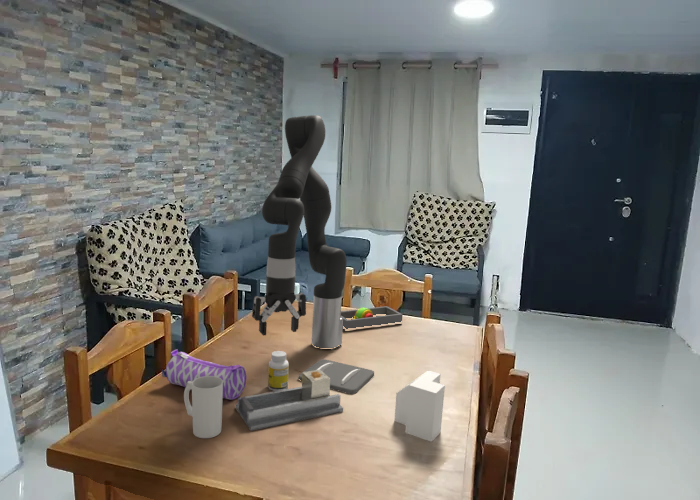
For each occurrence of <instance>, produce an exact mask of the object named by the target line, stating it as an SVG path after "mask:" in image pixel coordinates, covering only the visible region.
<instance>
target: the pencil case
mask: <svg viewBox="0 0 700 500" xmlns="http://www.w3.org/2000/svg"><path fill="white" fill-rule="evenodd" d="M170 355H171V356H172V357H171V359H169V361H168V363H167V364H166V367H165V369H162V370H161V376H162V378H166V379H167V381H168V382H169V383H170V384H171V385H172V384H173V385H177V386H180V387H184V388H186V386H187V382H188V381H191V382H192V381H193V380H195V379H196V378H199V377H203V376H215V377H219V378H221V379H222V380H223V399H226V400H230V401H231V400H235V399H238V398H239V397H240V396H241V394H242V393H243V392H244V391H245V390H244V389H246V384H247V371H246V369H245V367H244V366H243V365H240V364H236V365H235V364H234V365H222V364H219V363H215V362H211V361H206V360H203V359H200V358H197V357H194V356H191V355H189V354H188V353H186V352H184V351H179V350H178V348H177V349H174V350H172V351H171V352H170ZM190 391H192V389H191V390H190Z"/></svg>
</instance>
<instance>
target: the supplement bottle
mask: <svg viewBox="0 0 700 500" xmlns="http://www.w3.org/2000/svg"><path fill="white" fill-rule="evenodd" d="M270 359H271V360H269V362H268V377H267V379H268V382H267V383H268V388H269V390H271V391H272V392H274V391H280V390H285V389H289V388H288V387H289V371H290V370H289V367H290V366H289V361H288V359H287V353H286V352H285V351H282V350H274V351H272V352H271V357H270Z"/></svg>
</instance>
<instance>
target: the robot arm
mask: <svg viewBox="0 0 700 500" xmlns="http://www.w3.org/2000/svg"><path fill="white" fill-rule="evenodd" d="M284 132H285V139H286V144H287V147H288V151H289V154H290V157H291V158H290V159H289V160H288V161H287V162H286V163H285V164H284V166H283V168H282V170H281V173H280V175H279V179H278V181H277V184H276V186H275V187H274V188H273V189H272V190H271V192H270V193H269V194H268V196H267V197H266V198H265V200H264V202H263V205H262V209H261V215H262V218H263V220H264V222H266V223H268V224H271V225H281V226H288V227H287V229H286V231H284V232H277V233H273V234H271V235H270V236H269V237H268V245H267V246H268V249H267V250H268V252H267V262H266V273H265V274H266V275H265V276H266V280H265V284H266V285H265V295H264V296H257V295H254V296H253V300H252V301H253V303H252V312H251V313H252V314H251V317H252V318H253V319H254V320H255V321H256V322H257V321H259V322H258V323H259V325H258V331H259V333H260V334H261V335H262V336H267V323H268V322H267V320H268V318H269V317H270V316H271V315H273V313H280V312H283V313H284V312H285V313H286V312H287V311H288V312H289V314H291V315H292V316H291V321H290V322H291V323H290V330H291V332H293V333H296V332H297V331H298V329H299V326H300V325H299V322H300V320H299V319H300V318H301V317H305V316H306V315H307V304H306V303H307V301H306V300H307V299H306V298H307V296H306V295H305V294H304V293H303V292H298V293H297V294H295V293H296V292H295V291H296V273H297V270H296V269H297V265H296V249H297V248H296V245H297V238H298V233H299V230H300V228H301V224H302V222H303V219H304V224H305V225H304V226H305V231H306V239H307V248H308V249H307V250H308V251H307V252H308V261H309V265H310V267H311V269H312V270H313V271H314V272H316V273H317V274H321V275H325V279H324V283H318V284H316V285H315V286H314V287H313V298H312V299H313V302H312V303H313V306H312V323H311V325H312V327H311V328H312V329H311V345H312V344H313V345H314V346H316V347H319V348H334V347H337V346H338V345H341V344H342V343H343V341H342V340H343V319H342V318H341V311H342V297H343V290H344V288H345V280H346V272H347V256H346V252H345V251H344V250H343V249H341V248H337V247H332V246H328V245H327V241H326V240H327V239H326V234H325V233H326V231H325V230H326V226H327V223H328V221H329V218H330V216H331V213H332V202H331V201H332V200H331V195H330V189H329V186H328V184H327V183H326V181H325V180H324V179H323V178H322V176H321V175H320V174H319V173H318V172H317V170H315V168H314V167H313V165H314V164H315V163H314V162H315V160H316V159H317V157H318V155H319V153H320V151H321V149H322V147H323V145H324V142H325V139H326V125H325V122H324V120H323V118H322V117H321V116H319V115H317V114H316V115H314V114H313V115H312V114H311V115H301V116H293V117H288V118H287V119H286V121H285V123H284ZM295 301H297V302H298V303H297V305H298V306H297V307H298V308H297V309H298V310H297V309H296V308H295V307H294V305H293V304H294V303H295ZM264 302H265V303H266V305H264V307H263V309H262V311H261V306H262V305H263V304H264ZM342 345H343V344H342Z"/></svg>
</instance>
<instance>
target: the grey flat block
mask: <svg viewBox="0 0 700 500" xmlns="http://www.w3.org/2000/svg"><path fill="white" fill-rule="evenodd" d="M314 370H321V371H322V372H323V373H324V374H326V375H327V376H328V377H329V378H330V390H333V389H334V391H337V390H339V391H338V392H342V393H345V392H346V393H345V394H349V395H353V394H354V393H355V394H357V392H359V391H360V390H361V389H362V388H363V387H364V386H366V385H367V384H368V383H369V380H370V379H371V378H372V377H373V376H374V377H375V371H374V370H372V369H369V368H365V367H359V366H356V365H352V364H346V363H342V362H339V361H333V360H331V359H325V358H322V359H319V360H318V361H316V362H315V363H314V364H312V365H310V366H309V367H308V368H307V369H305V370H304V371H303V372H308V371H314ZM374 377H373V378H374ZM373 378H372V379H373ZM298 379H300V380H301V381H300V380H299V381H300V382H302V372H301V373H299V374H298V376H297V380H298ZM372 379H371V380H372ZM371 380H370V381H371Z"/></svg>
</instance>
